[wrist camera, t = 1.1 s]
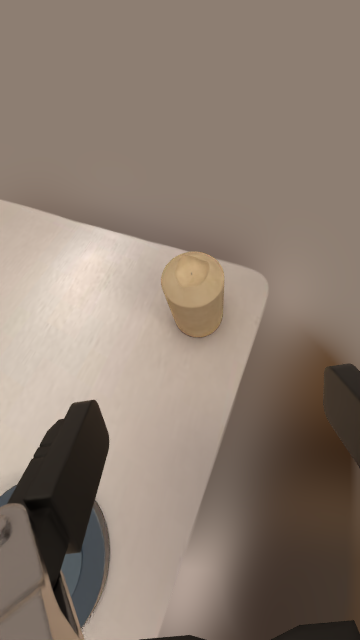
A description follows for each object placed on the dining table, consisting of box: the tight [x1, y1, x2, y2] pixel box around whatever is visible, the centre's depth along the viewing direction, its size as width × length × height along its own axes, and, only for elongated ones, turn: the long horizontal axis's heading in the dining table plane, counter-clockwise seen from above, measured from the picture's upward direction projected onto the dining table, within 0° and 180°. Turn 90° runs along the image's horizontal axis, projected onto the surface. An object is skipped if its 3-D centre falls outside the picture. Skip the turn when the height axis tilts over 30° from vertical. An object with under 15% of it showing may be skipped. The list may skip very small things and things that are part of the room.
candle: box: [161, 252, 224, 337], centre depth 28 cm, size 6×6×10 cm
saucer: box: [0, 484, 109, 628], centre depth 26 cm, size 13×13×1 cm
